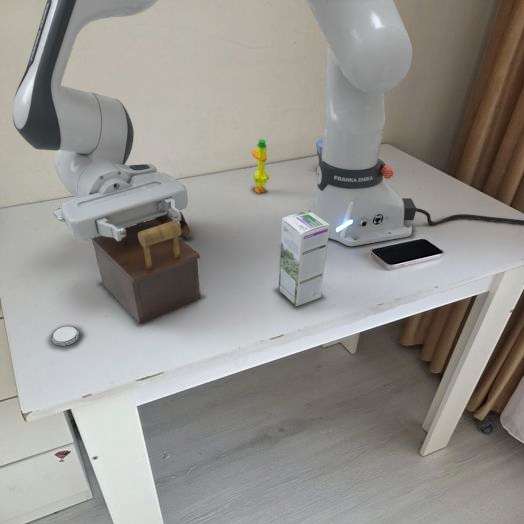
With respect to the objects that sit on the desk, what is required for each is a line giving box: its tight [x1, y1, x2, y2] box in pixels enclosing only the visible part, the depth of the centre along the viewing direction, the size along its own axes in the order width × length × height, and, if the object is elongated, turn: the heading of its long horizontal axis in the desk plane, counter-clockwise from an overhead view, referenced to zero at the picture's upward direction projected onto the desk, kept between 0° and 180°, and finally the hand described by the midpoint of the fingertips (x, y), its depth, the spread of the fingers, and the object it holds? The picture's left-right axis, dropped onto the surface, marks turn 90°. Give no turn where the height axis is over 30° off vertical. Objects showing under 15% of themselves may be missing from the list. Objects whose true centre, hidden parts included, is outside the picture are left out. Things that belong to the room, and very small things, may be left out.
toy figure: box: [251, 139, 270, 194], centre depth 112 cm, size 7×4×12 cm, turn 27°
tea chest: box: [92, 242, 201, 324], centre depth 83 cm, size 14×12×8 cm
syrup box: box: [278, 210, 330, 307], centre depth 81 cm, size 6×6×14 cm
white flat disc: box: [51, 325, 80, 346], centre depth 76 cm, size 4×4×1 cm
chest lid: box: [91, 218, 201, 283], centre depth 78 cm, size 15×12×7 cm
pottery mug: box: [138, 211, 191, 241], centre depth 99 cm, size 12×10×8 cm
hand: (150, 226), depth 74 cm, fingers open, 8 cm apart
